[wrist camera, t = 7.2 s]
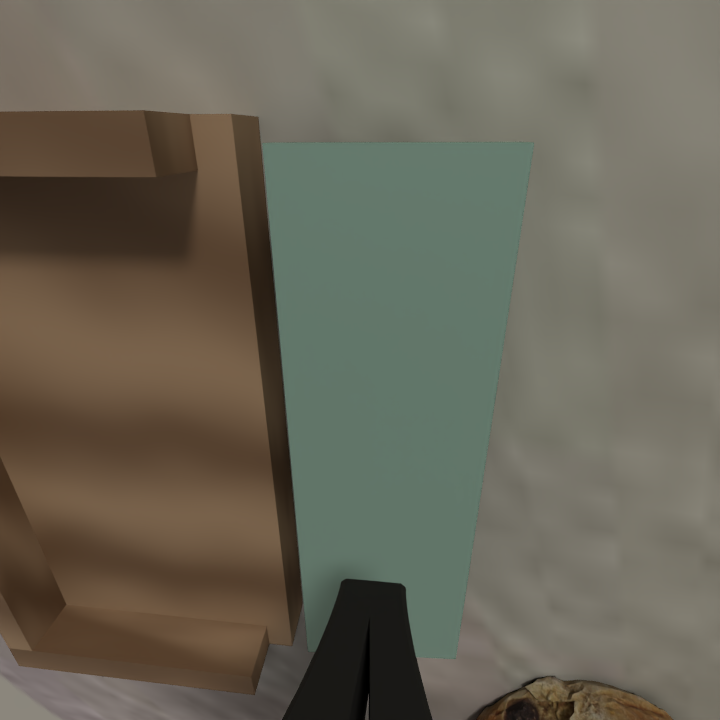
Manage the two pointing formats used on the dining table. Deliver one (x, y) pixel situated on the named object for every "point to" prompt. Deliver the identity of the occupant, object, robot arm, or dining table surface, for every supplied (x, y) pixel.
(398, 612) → the robot arm
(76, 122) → the tray
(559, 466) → the dining table surface
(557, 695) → the bread roll
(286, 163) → the panel
